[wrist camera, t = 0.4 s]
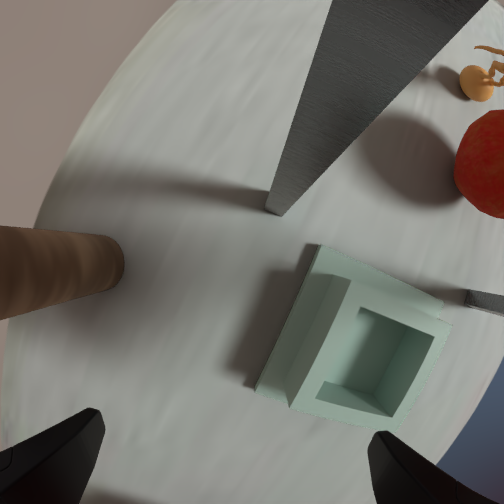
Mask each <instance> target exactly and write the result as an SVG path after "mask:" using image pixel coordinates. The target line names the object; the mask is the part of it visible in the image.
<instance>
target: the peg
mask: <svg viewBox="0 0 504 504" xmlns="http://www.w3.org/2000/svg"><path fill="white" fill-rule="evenodd" d="M123 271H124V257H123V253H122V250H121V248H120V247H119V245H118V244H117V243H116V241H114V240H113V239H112V238H110V237H108V236H105V235H96V234H85V233H74V232H64V231H53V230H42V229H31V228H20V227H9V226H0V320H3V319H6V318H10V317H13V316H17V315H20V314H24V313H27V312H31V311H34V310H38V309H41V308H45V307H48V306H52V305H55V304H59V303H62V302H66V301H69V300H73V299H76V298H80V297H83V296H87V295H90V294H94V293H97V292H101V291H105V290H108V289H111V288H112V287H114V286H115V285H116V284H117V283H118V282H119V280H120V279H121V277H122V274H123Z"/></svg>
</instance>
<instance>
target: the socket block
mask: <svg viewBox="0 0 504 504" xmlns="http://www.w3.org/2000/svg"><path fill="white" fill-rule="evenodd" d="M443 305H444V302H443V301H441V300H439V299H437V298H435V297H433V296H431V295H429V294H427V293H425V292H423V291H421V290H419V289H417V288H415V287H412V286H410V285H408V284H406V283H404V282H402V281H400V280H398V279H396V278H394V277H392V276H389V275H387V274H385V273H383V272H381V271H379V270H377V269H375V268H372V267H370V266H368V265H366V264H364V263H362V262H359V261H357V260H355V259H353V258H351V257H349V256H346V255H344V254H342V253H340V252H337V251H335V250H333V249H331V248H329V247H326V246H324V245H319V246H318V248H317V251H316V253H315V255H314V258H313V260H312V263H311V265H310V267H309V270H308V272H307V274H306V277H305V279H304V282H303V284H302V286H301V288H300V291H299V293H298V295H297V298H296V300H295V302H294V304H293V307H292V309H291V311H290V313H289V316H288V318H287V320H286V322H285V324H284V327H283V329H282V331H281V333H280V335H279V337H278V340H277V342H276V344H275V346H274V348H273V350H272V352H271V354H270V357H269V359H268V361H267V363H266V365H265V367H264V369H263V371H262V373H261V375H260V377H259V379H258V381H257V383H256V385H255V393H257V394H260V395H263V396H266V397H269V398H272V399H275V400H278V401H281V402H284V403H287V404H288V405H289V408H290V409H293V410H296V411H300V412H303V413H307V414H310V415H314V416H318V417H322V418H325V419H329V420H333V421H338V422H342V423H346V424H351V425H355V426H360V427H365V428H370V429H375V430H380V431H385V430H387V431H389V432H392V433H396V432H397V430H398V429H399V427H400V426H401V424H402V422H403V421H404V419H405V418H406V416H407V414H408V413H409V411H410V410H411V408H412V406H413V404H414V403H415V401H416V399H417V398H418V396H419V394H420V392H421V390H422V389H423V387H424V385H425V383H426V381H427V379H428V377H429V375H430V373H431V371H432V369H433V367H434V365H435V363H436V361H437V359H438V357H439V355H440V353H441V351H442V349H443V346H444V344H445V342H446V340H447V337H448V335H449V333H450V330H451V328H452V325H451V324H449V323H447V322H445V321H443V320H440V319H438V318H439V315H440V313H441V310H442V308H443Z"/></svg>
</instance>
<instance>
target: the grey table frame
mask: <svg viewBox="0 0 504 504" xmlns="http://www.w3.org/2000/svg"><path fill="white" fill-rule="evenodd" d="M487 2H488V0H332V3H331V6H330V9H329V12H328V15H327V18H326V21H325V24H324V27H323V30H322V33H321V36H320V40H319V43H318V46H317V49H316V52H315V55H314V58H313V61H312V64H311V67H310V70H309V73H308V76H307V79H306V82H305V85H304V88H303V91H302V94H301V97H300V100H299V103H298V106H297V109H296V113H295V116H294V119H293V122H292V125H291V128H290V131H289V134H288V137H287V140H286V143H285V146H284V149H283V152H282V155H281V158H280V161H279V164H278V168H277V171H276V174H275V177H274V180H273V183H272V186H271V189H270V192H269V195H268V198H267V201H266V204H265V207H264V209H265V210H267V211H270V212H272V213H274V214H277V215H279V216H281V217H282V216H283V215H284V214H285V213H286V212H287V211H288V210H289V209H290V207H291V206H292V205H293V204H294V203H295V202H296V201H297V200H298V199H299V198H300V197H301V196H302V195H303V194H304V193H305V192H306V191H307V190H308V189H309V187H310V186H311V185H312V184H313V183H314V182H315V181H316V180H317V179H318V178H319V177H320V176H321V175H322V174H323V173H324V172H325V171H326V170H327V169H328V167H329V166H330V165H331V164H332V163H333V162H334V161H335V160H336V159H337V158H338V157H339V156H340V155H341V154H342V153H343V152H344V151H345V150H346V149H347V148H348V146H349V145H350V144H351V143H352V142H353V141H354V140H355V139H356V138H357V137H358V136H359V135H360V134H361V133H362V132H363V131H364V130H365V129H366V128H367V127H368V126H369V124H370V123H371V122H372V121H373V120H374V119H375V118H376V117H377V116H378V115H379V114H380V113H381V112H382V111H383V110H384V109H385V108H386V107H387V106H388V105H389V104H390V102H391V101H392V100H393V99H394V98H395V97H396V96H397V95H398V94H399V93H400V92H401V91H402V90H403V89H404V88H405V87H406V86H407V85H408V84H409V83H410V82H411V81H412V79H413V78H414V77H415V76H416V75H417V74H418V73H419V72H420V71H421V70H422V69H423V68H424V67H425V66H426V65H427V64H428V63H429V62H430V61H431V60H432V59H433V58H434V57H435V56H436V54H437V53H438V52H439V51H440V50H441V49H442V48H443V47H444V46H445V45H446V44H447V43H448V42H449V41H450V40H451V39H452V38H453V37H454V36H455V35H456V34H457V33H458V32H459V31H460V29H461V28H462V27H463V26H464V25H465V24H466V23H467V22H468V21H469V20H470V19H471V18H472V17H473V16H474V15H475V14H476V13H477V12H478V11H479V10H480V9H481V8H482V7H483V6H484V5H485V4H486V3H487ZM464 304H466V305H467V306H469V307H471V308H473V309H477V310H481V311H485V312H488V313H492V314H496V315H500V316H503V317H504V296H502V295H497V294H491V293H486V292H481V291H475V290H470V289H469V291H468V294H467V297H466V300H465V303H464Z"/></svg>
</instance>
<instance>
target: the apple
mask: <svg viewBox="0 0 504 504" xmlns="http://www.w3.org/2000/svg"><path fill="white" fill-rule="evenodd" d="M454 181H455V185H456V186H457V188H458V189H459V191H460V192H461V193H462V194H463V195H464V197H465V198H466V199H467V200H468V201H469V202H470V203H471V204H473V205H474V206H475V207H476V208H477V209H478V210H479V211H481V212H484V213H486V214H488V215H490V216H493V217H496V218H501V219H504V110H491V111H489V112H488V113H486V114H485V115H483V116H482V117H480V118H479V119H477V120H476V121H475V122H473V123H472V124H471V125H470V126H469V127H468V129H467V131H466V133H465V134H464V136H463V138H462V140H461V143H460V145H459V148H458V151H457V155H456V159H455V165H454Z"/></svg>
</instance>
